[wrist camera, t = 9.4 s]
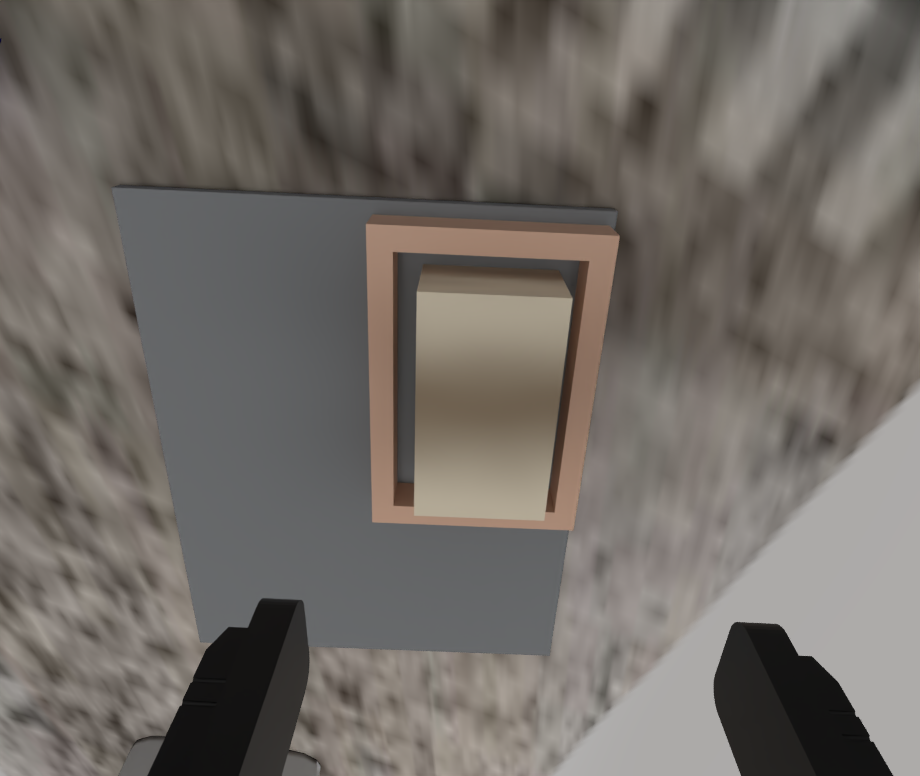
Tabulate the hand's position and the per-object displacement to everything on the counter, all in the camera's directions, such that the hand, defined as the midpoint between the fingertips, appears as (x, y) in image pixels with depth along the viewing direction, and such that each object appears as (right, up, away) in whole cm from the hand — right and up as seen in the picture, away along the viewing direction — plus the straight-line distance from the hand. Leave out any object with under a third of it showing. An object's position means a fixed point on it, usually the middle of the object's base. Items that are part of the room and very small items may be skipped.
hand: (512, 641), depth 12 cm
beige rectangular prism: (0, +5, +11) cm, 12 cm away
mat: (-4, +2, +13) cm, 14 cm away
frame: (0, +5, +11) cm, 12 cm away
